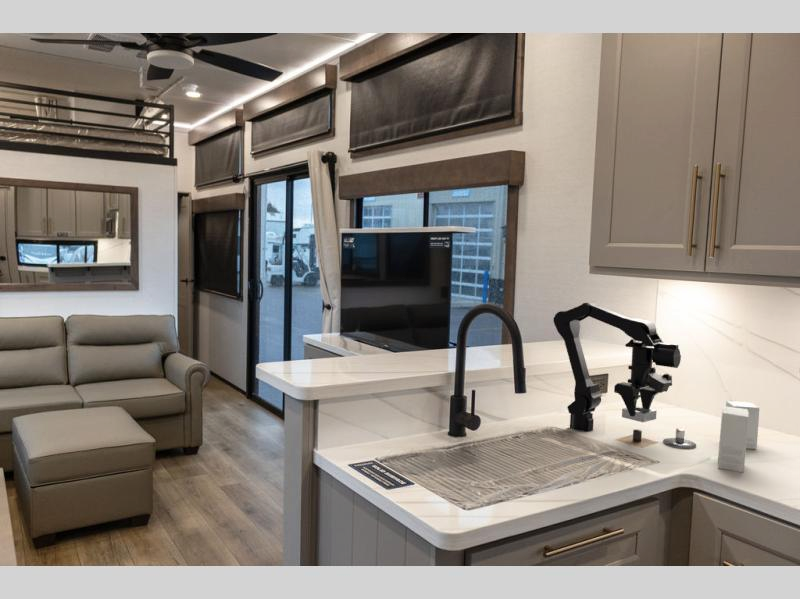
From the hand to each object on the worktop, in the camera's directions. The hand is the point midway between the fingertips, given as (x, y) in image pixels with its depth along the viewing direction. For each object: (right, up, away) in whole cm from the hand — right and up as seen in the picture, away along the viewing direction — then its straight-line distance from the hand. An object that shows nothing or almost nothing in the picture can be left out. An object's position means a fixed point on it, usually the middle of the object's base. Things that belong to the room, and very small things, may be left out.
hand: (638, 414), depth 190 cm
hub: (+11, -10, -1) cm, 15 cm away
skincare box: (+19, -11, -17) cm, 28 cm away
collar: (0, -1, 0) cm, 1 cm away
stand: (0, -9, +1) cm, 9 cm away
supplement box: (+32, -10, +3) cm, 34 cm away
